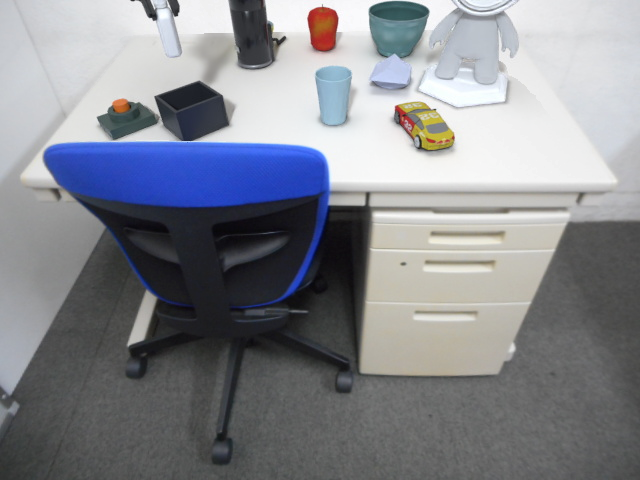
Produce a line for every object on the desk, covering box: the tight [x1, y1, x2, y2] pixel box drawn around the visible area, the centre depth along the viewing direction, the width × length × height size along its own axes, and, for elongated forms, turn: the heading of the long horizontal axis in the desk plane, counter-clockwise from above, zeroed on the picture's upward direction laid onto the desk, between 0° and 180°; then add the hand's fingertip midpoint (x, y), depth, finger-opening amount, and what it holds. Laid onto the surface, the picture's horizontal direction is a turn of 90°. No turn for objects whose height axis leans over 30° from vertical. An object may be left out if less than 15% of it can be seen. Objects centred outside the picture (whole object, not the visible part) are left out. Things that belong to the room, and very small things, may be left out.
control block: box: [96, 100, 158, 140], centre depth 91 cm, size 10×8×4 cm
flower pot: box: [367, 0, 431, 58], centre depth 114 cm, size 16×16×11 cm
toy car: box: [393, 101, 456, 151], centre depth 85 cm, size 8×17×5 cm, turn 16°
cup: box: [314, 65, 353, 126], centre depth 88 cm, size 8×8×10 cm
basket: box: [153, 80, 230, 142], centre depth 89 cm, size 11×10×7 cm
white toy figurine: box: [418, 0, 520, 108], centre depth 89 cm, size 20×23×35 cm
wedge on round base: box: [368, 54, 413, 90], centre depth 101 cm, size 9×7×13 cm
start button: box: [111, 98, 130, 113], centre depth 89 cm, size 3×3×2 cm
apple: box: [306, 3, 340, 52], centre depth 116 cm, size 9×8×12 cm
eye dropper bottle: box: [152, 0, 183, 59], centre depth 80 cm, size 4×6×12 cm
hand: (165, 15), depth 77 cm, fingers closed on eye dropper bottle, 3 cm apart
